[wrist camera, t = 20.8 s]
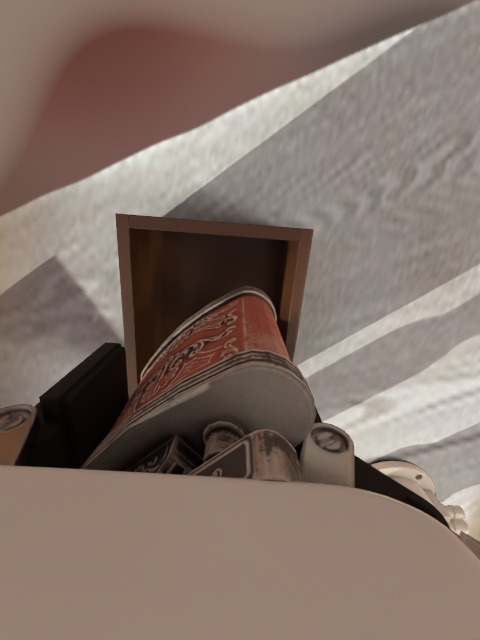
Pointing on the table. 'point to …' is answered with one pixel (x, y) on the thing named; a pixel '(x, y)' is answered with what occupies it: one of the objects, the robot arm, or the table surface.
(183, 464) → the lighter
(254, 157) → the table surface
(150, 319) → the box
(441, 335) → the table surface
